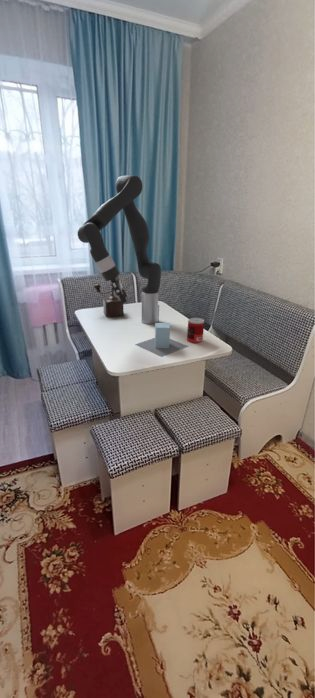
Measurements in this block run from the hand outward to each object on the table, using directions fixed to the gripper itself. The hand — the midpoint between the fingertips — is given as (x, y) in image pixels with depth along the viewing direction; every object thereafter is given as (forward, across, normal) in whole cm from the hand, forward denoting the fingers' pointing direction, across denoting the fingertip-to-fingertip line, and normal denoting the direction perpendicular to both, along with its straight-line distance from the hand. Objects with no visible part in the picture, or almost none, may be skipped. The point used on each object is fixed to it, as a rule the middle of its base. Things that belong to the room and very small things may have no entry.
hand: (125, 299), depth 148 cm
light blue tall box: (+25, -8, -6) cm, 27 cm away
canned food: (+34, -2, -20) cm, 40 cm away
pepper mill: (+13, +40, +19) cm, 46 cm away
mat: (+26, -8, -6) cm, 28 cm away
